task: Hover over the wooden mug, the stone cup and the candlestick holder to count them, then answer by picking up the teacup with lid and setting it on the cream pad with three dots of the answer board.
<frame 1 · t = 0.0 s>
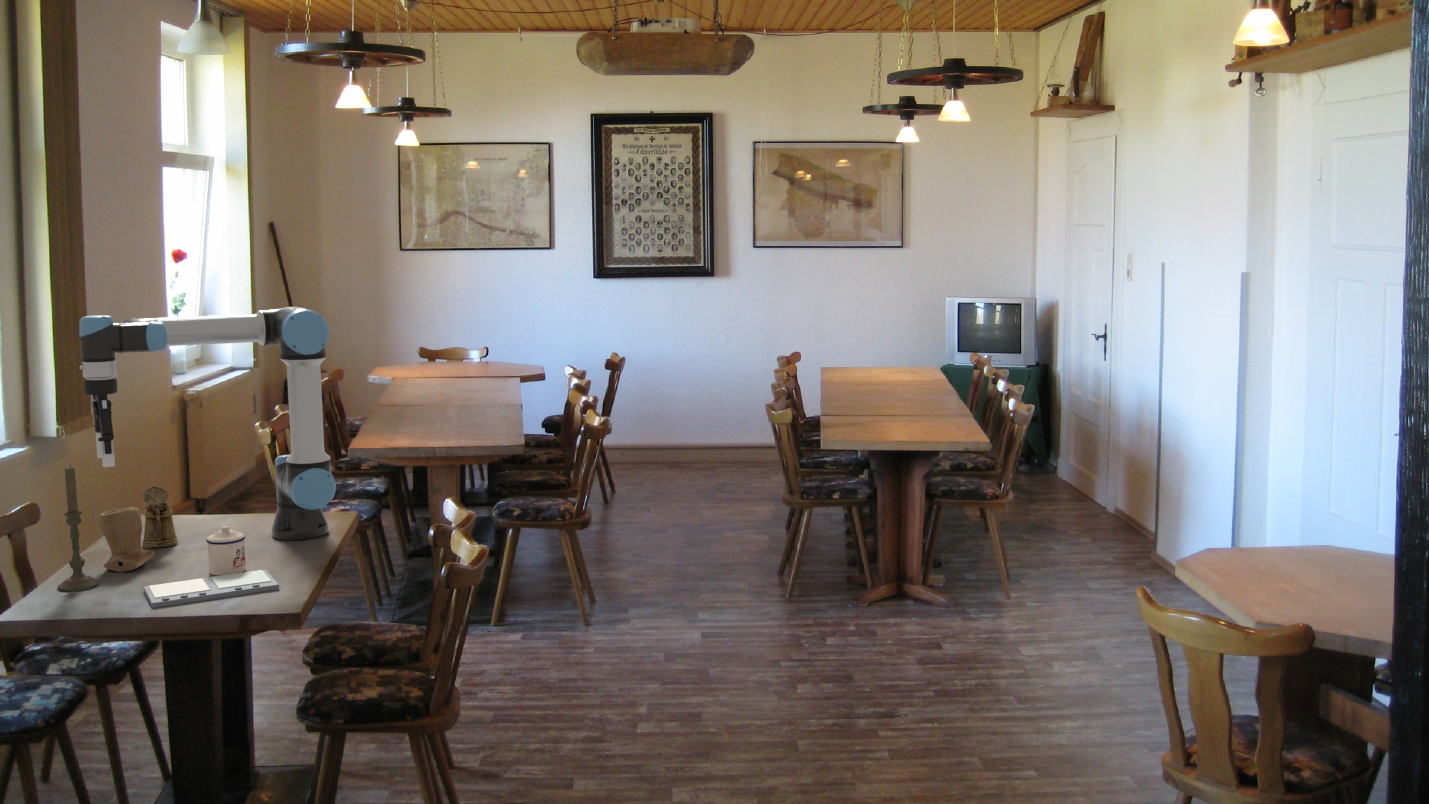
hand: (106, 462, 309), 28 cm above the table, tool pointing down, fingers open, 13 cm apart
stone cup: (126, 566, 317), on the table
wooden mug: (159, 547, 336), on the table
answer board: (211, 590, 296), on the table
candlestick holder: (78, 587, 299), on the table
teacup with lid: (229, 570, 313), on the table
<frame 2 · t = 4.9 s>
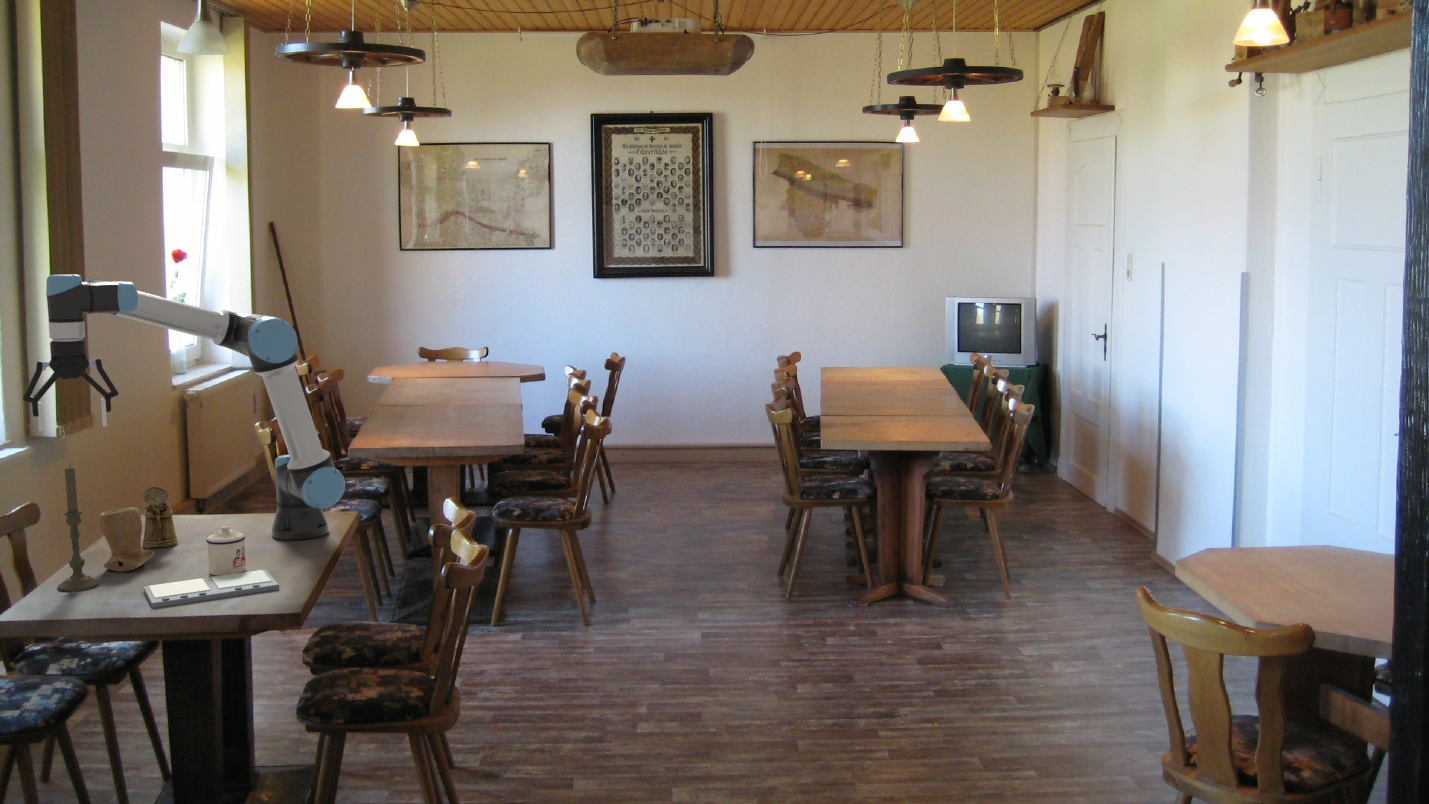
hand: (73, 427, 296), 39 cm above the table, tool pointing down, fingers open, 13 cm apart
nothing on the table moved.
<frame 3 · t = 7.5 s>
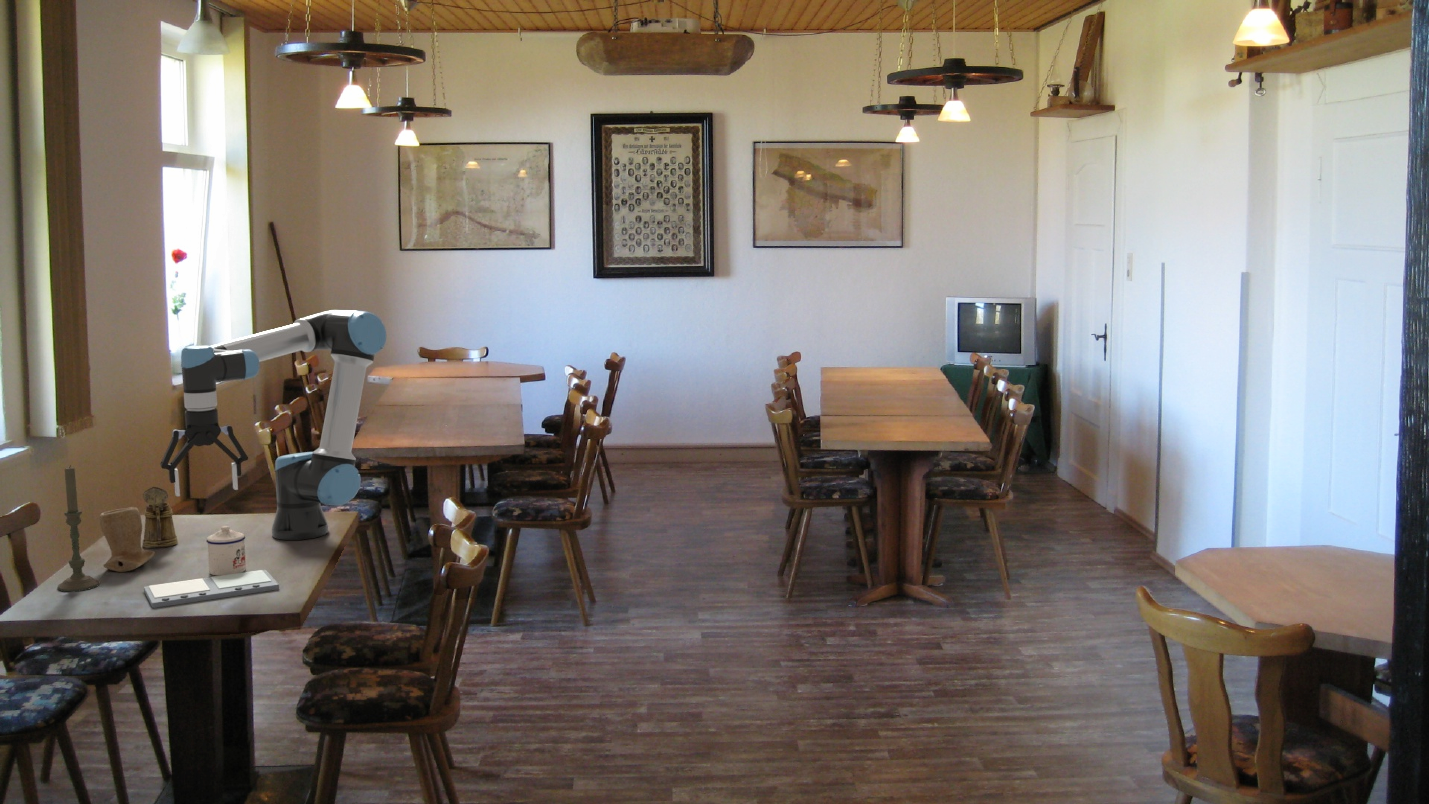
hand: (206, 492, 309), 21 cm above the table, tool pointing down, fingers open, 13 cm apart
nothing on the table moved.
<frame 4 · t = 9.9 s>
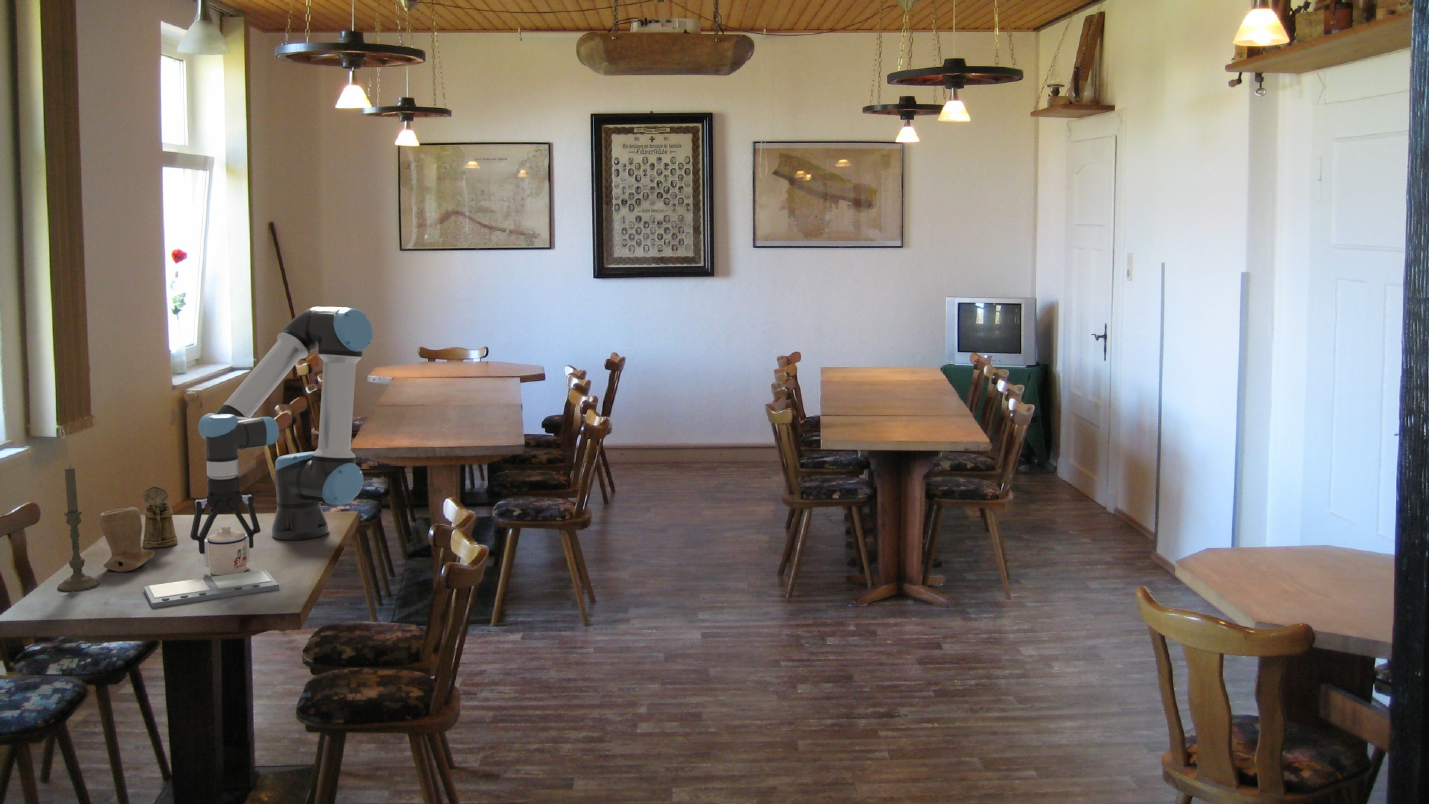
hand: (227, 563, 313), 2 cm above the table, tool pointing down, fingers closed on teacup with lid, 9 cm apart
teacup with lid: (230, 570, 313), on the table, touching gripper
everything else where it was.
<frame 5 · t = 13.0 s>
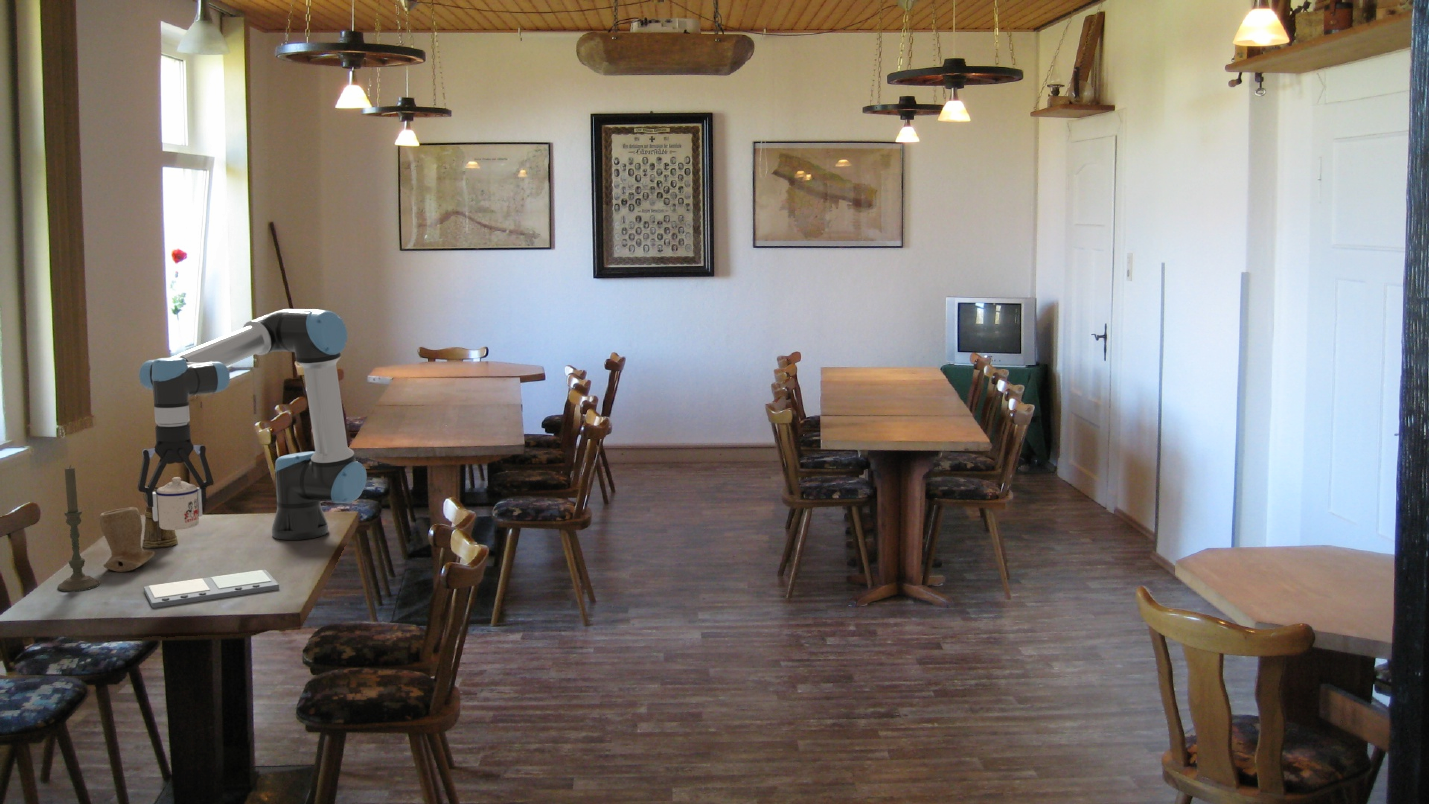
hand: (177, 517, 292), 18 cm above the table, tool pointing down, fingers closed on teacup with lid, 9 cm apart
teacup with lid: (181, 525, 293), point 16 cm above the table, touching gripper
everything else where it was.
when the fingers open (4 cm above the table, at t = 16.2 s): teacup with lid drops 1 cm, resting on answer board.
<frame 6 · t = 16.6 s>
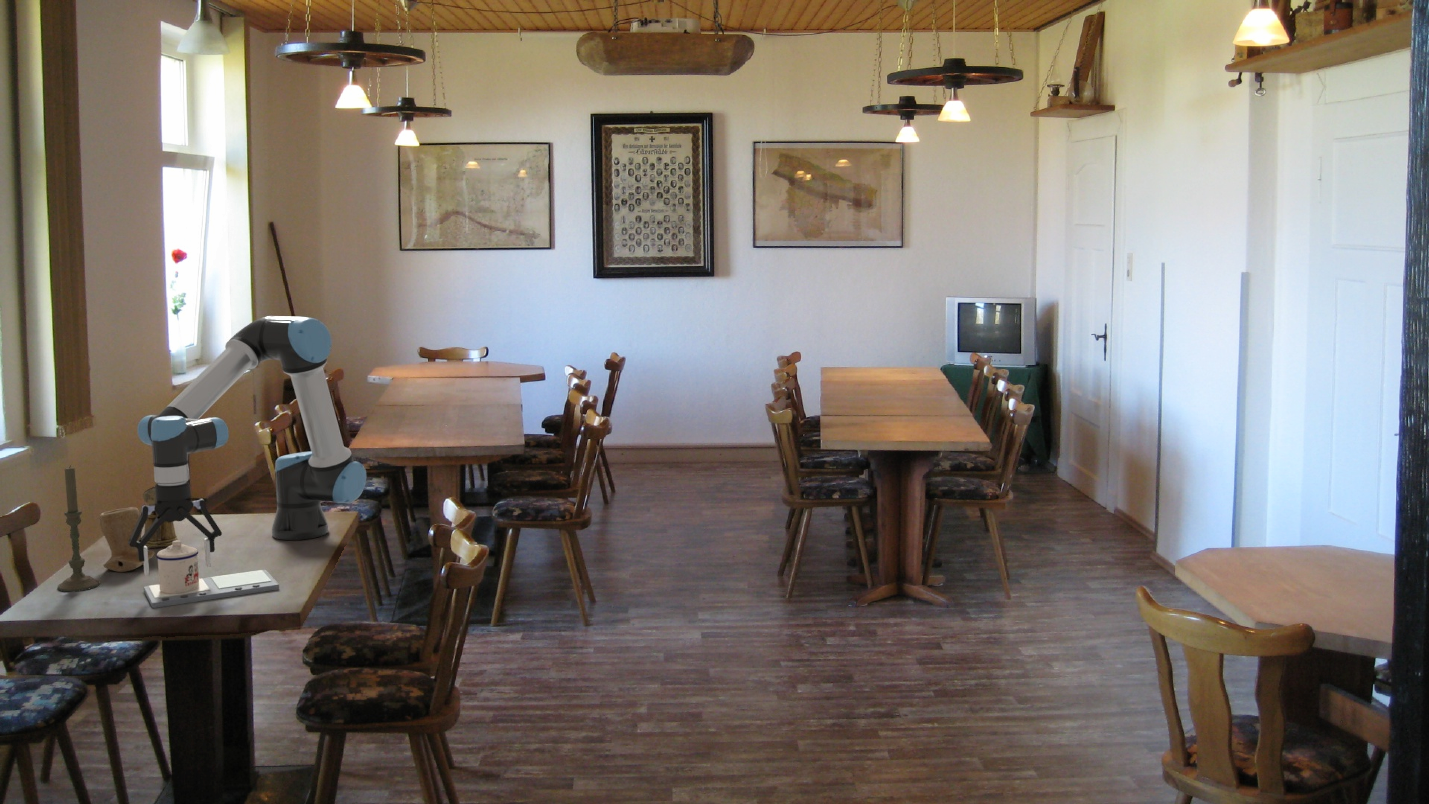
hand: (177, 570, 293), 6 cm above the table, tool pointing down, fingers open, 13 cm apart
teacup with lid: (181, 587, 294), point 1 cm above the table, touching answer board
everything else where it was.
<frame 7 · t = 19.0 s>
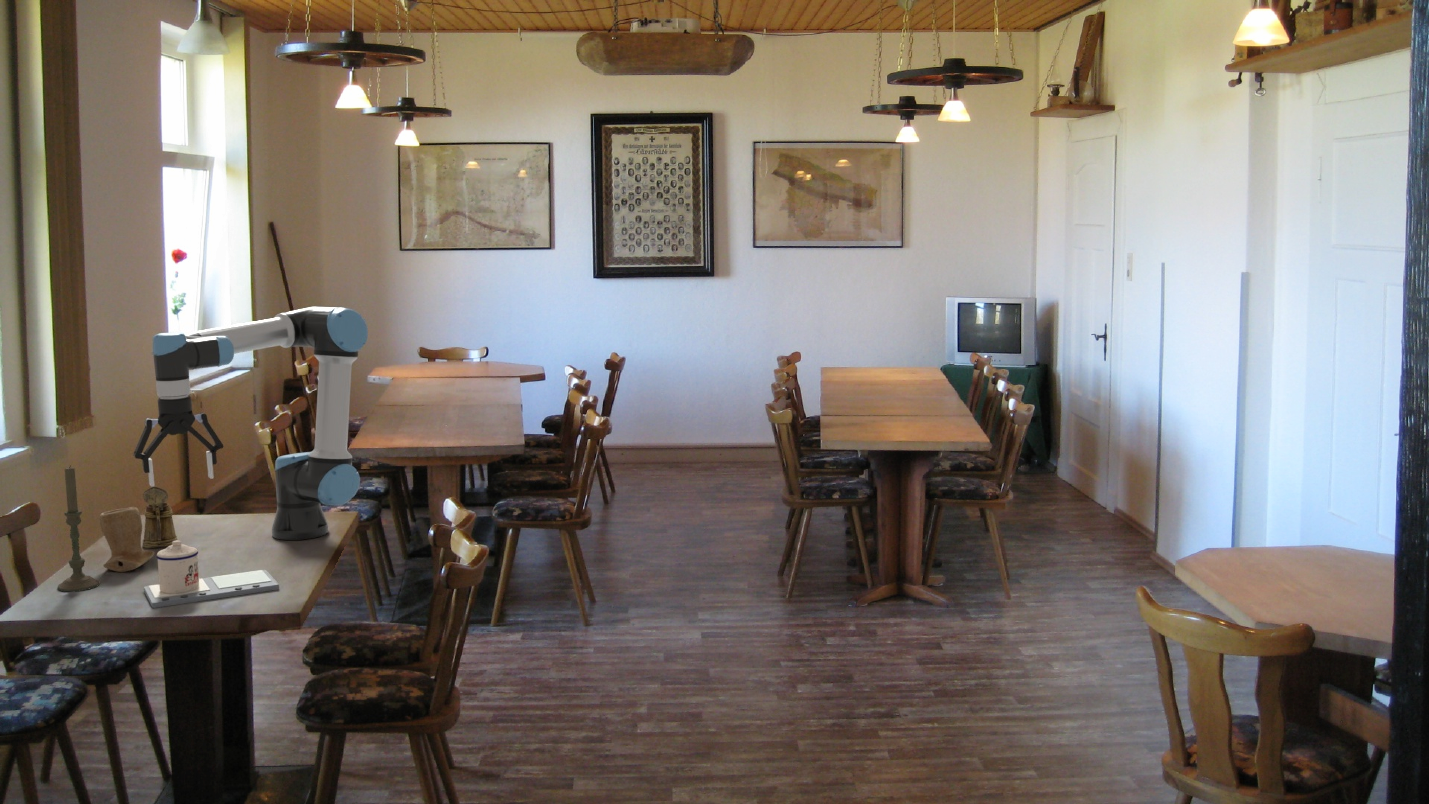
hand: (181, 481, 303), 24 cm above the table, tool pointing down, fingers open, 13 cm apart
nothing on the table moved.
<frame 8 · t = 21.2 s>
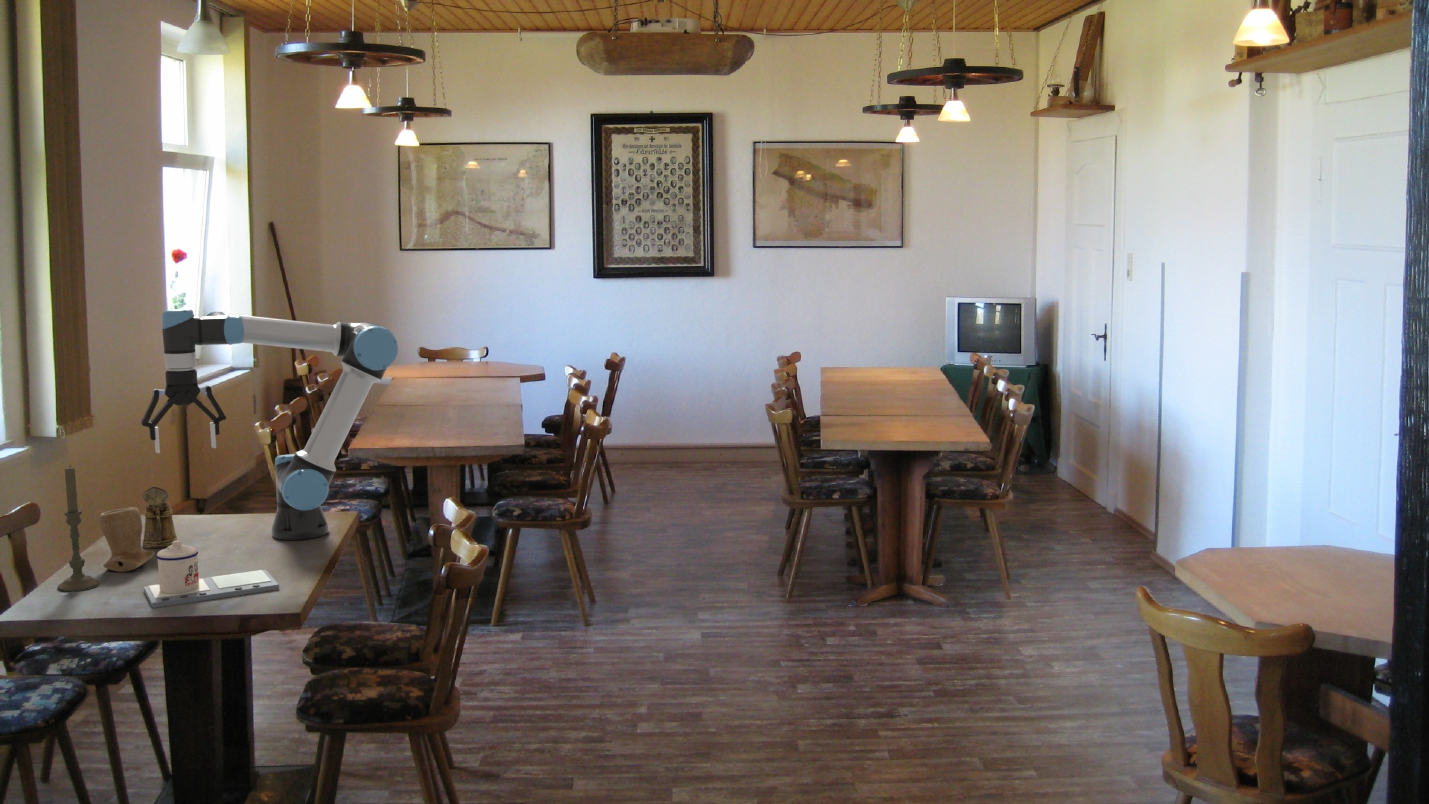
hand: (186, 450, 321), 29 cm above the table, tool pointing down, fingers open, 13 cm apart
nothing on the table moved.
at the end: teacup with lid inside the target area on the answer board (0.6 cm from its centre), point 1.2 cm above the answer board's base; teacup with lid tilted 0°; the gripper is holding nothing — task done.
